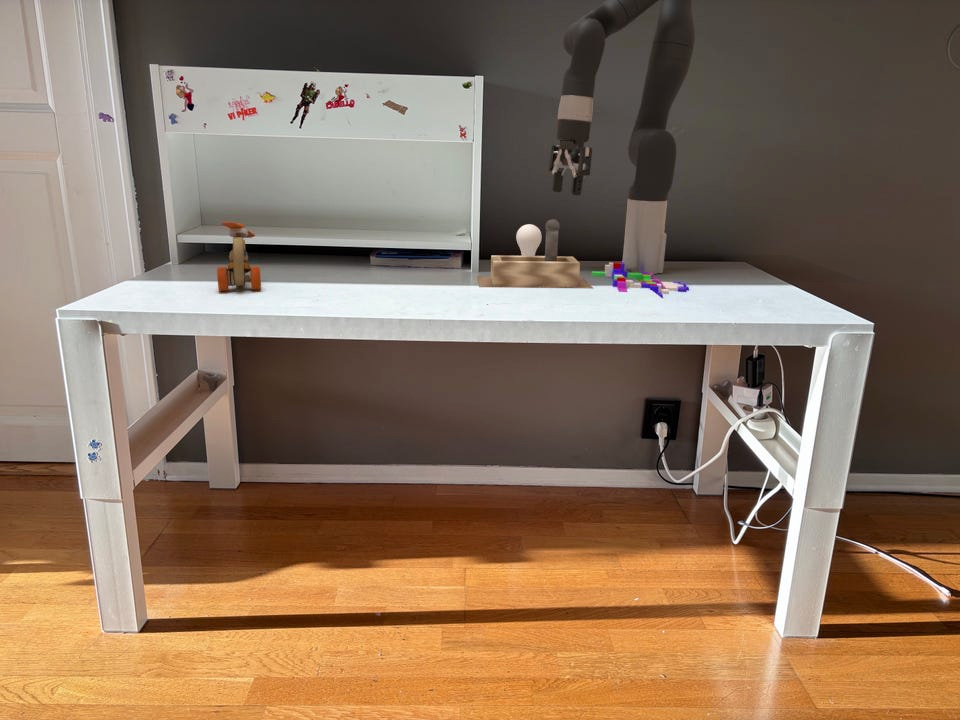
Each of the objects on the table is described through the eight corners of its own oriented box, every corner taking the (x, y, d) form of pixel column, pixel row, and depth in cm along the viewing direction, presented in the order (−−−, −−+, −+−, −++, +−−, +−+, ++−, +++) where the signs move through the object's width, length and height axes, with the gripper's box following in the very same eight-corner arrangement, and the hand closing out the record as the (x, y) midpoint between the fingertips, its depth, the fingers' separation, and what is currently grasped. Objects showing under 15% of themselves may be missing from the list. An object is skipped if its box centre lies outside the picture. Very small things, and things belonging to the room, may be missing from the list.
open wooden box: (571, 278, 156) (572, 256, 155) (578, 286, 148) (579, 263, 146) (490, 277, 155) (491, 255, 154) (493, 285, 147) (493, 262, 145)
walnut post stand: (583, 282, 158) (587, 217, 153) (593, 293, 147) (598, 223, 143) (476, 281, 156) (478, 215, 152) (479, 291, 146) (480, 221, 142)
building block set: (696, 302, 143) (699, 280, 142) (595, 298, 145) (597, 276, 144) (676, 279, 167) (678, 260, 166) (589, 275, 169) (590, 256, 167)
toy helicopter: (218, 295, 138) (211, 224, 134) (222, 275, 157) (216, 212, 153) (261, 293, 140) (256, 223, 136) (260, 273, 159) (256, 212, 155)
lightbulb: (532, 273, 167) (535, 226, 164) (510, 270, 170) (512, 224, 167) (544, 269, 172) (546, 224, 169) (522, 266, 175) (524, 222, 172)
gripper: (606, 120, 151) (596, 197, 156) (572, 120, 163) (564, 191, 168) (577, 117, 148) (567, 195, 153) (544, 117, 160) (536, 189, 165)
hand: (565, 193), depth 160 cm, fingers open, 8 cm apart
